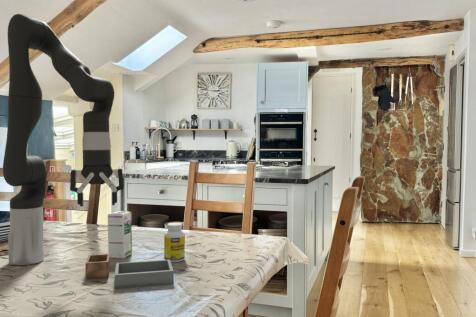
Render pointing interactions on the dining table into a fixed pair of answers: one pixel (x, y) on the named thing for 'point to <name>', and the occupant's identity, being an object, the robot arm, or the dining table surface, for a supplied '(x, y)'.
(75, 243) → the dining table surface
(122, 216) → the syrup box
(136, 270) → the crate big
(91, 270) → the crate small
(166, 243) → the pill bottle
